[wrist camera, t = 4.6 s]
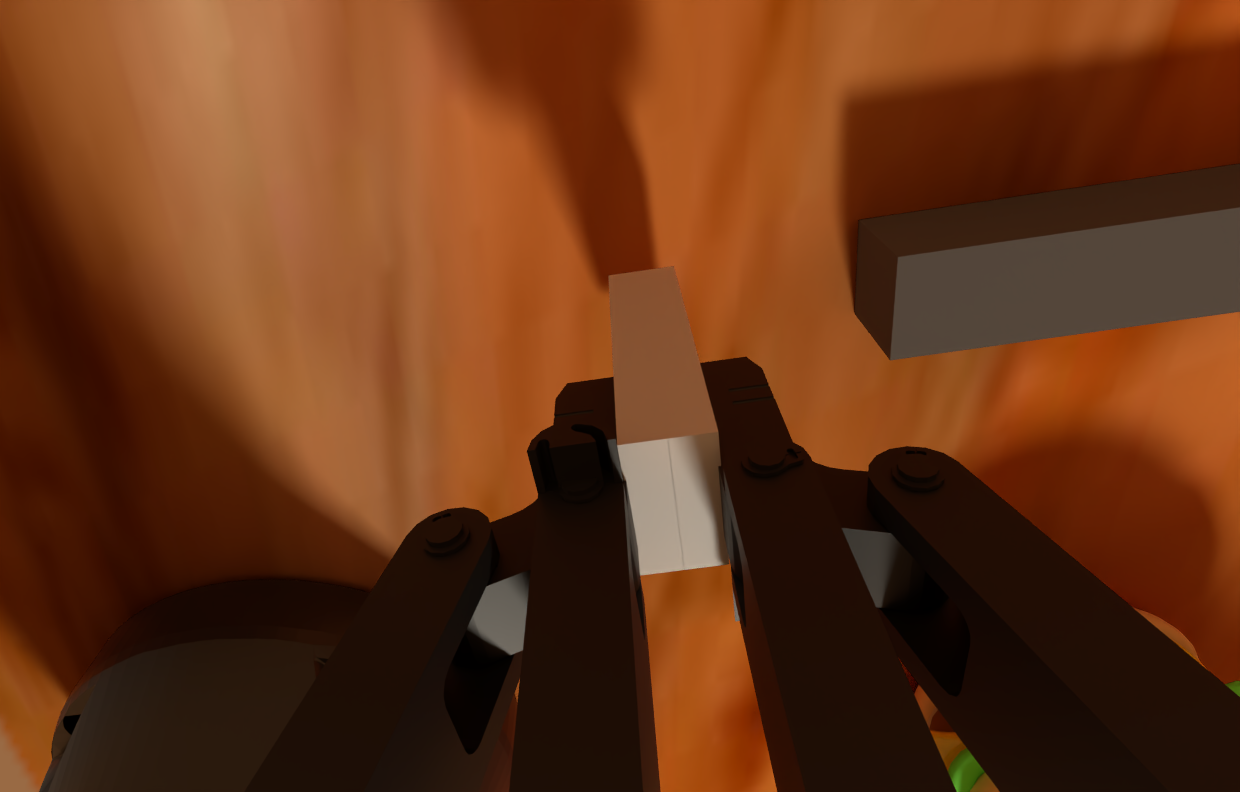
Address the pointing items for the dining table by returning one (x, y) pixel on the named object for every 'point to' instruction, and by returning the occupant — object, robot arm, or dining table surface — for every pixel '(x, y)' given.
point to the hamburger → (960, 763)
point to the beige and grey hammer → (1051, 263)
